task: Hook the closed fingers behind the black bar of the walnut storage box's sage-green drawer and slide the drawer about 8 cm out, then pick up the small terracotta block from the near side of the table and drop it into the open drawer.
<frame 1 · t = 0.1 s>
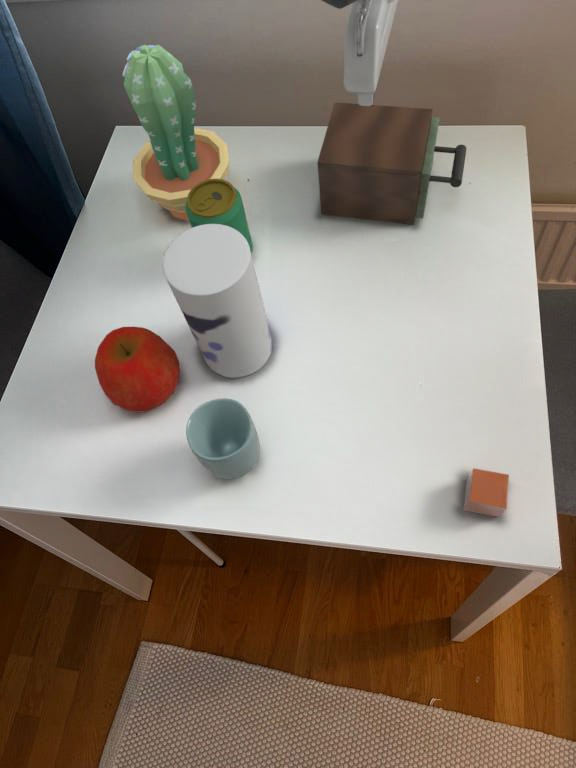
hand: (372, 76, 73), 21 cm above the table, tool pointing down, fingers open, 8 cm apart
potted cactus: (193, 200, 96), on the table
cabinet: (373, 189, 93), on the table
drawer: (401, 166, 87), point 5 cm above the table, slide at 0.0 cm
cup: (234, 457, 75), on the table
block: (482, 497, 69), on the table
beverage can: (228, 254, 90), on the table
container: (238, 347, 82), on the table
apple: (148, 384, 81), on the table
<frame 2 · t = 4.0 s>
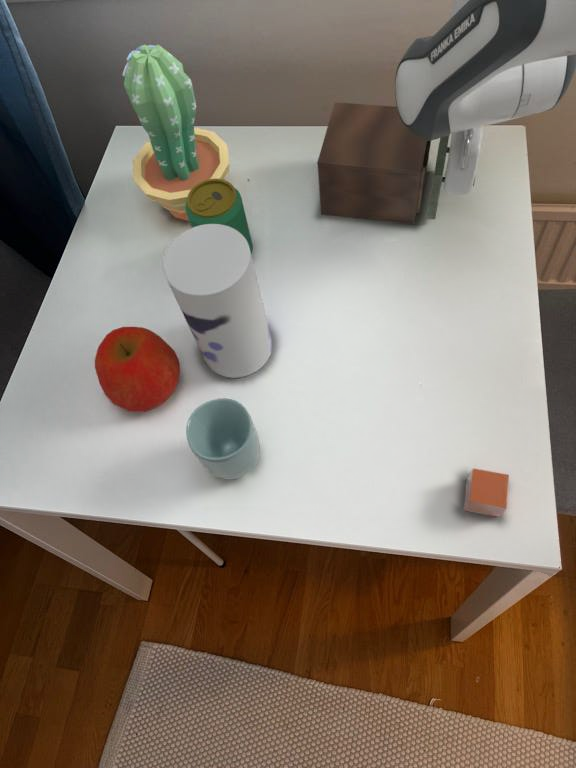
hand: (458, 170, 86), 6 cm above the table, tool pointing down, fingers closed, pressing on drawer
drawer: (413, 167, 87), point 5 cm above the table, slide at 1.8 cm, touching gripper
everything else where it was.
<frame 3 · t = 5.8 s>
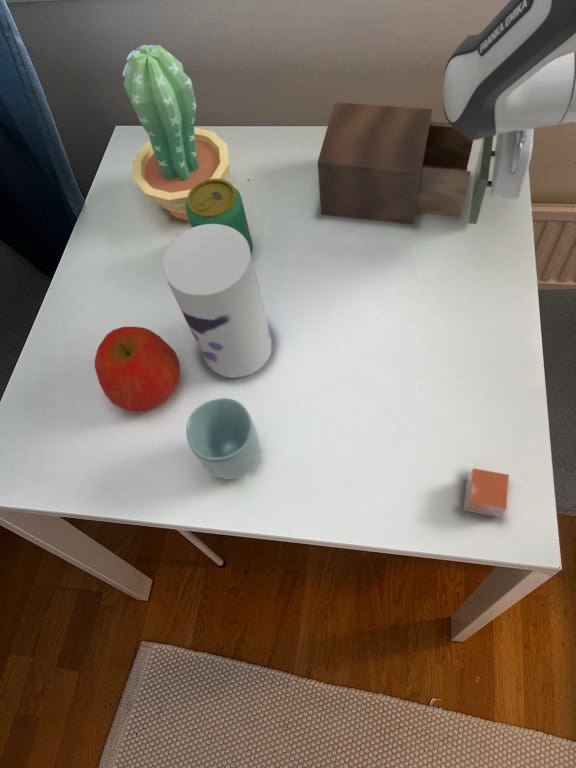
hand: (500, 174, 84), 6 cm above the table, tool pointing down, fingers closed, pressing on drawer
drawer: (454, 171, 86), point 5 cm above the table, slide at 7.9 cm, touching gripper
everything else where it was.
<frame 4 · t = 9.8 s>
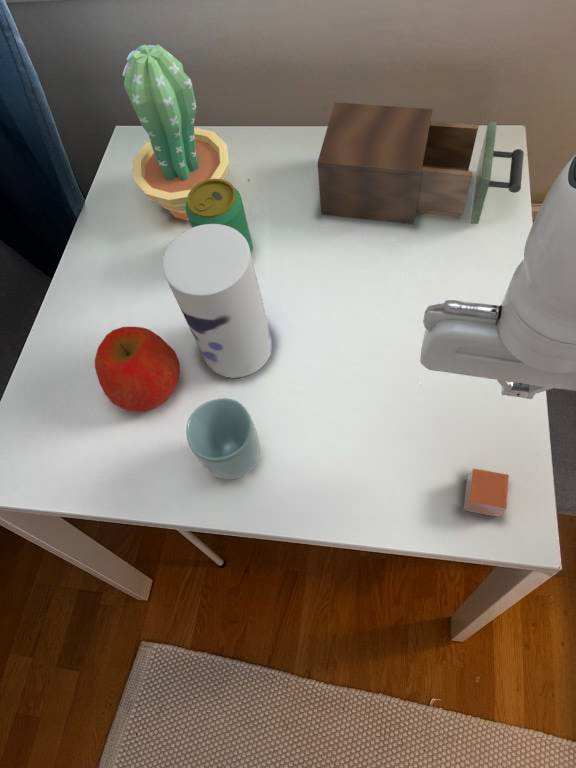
hand: (516, 390, 59), 15 cm above the table, tool pointing down, fingers closed
drawer: (456, 171, 86), point 5 cm above the table, slide at 8.1 cm
everything else where it was.
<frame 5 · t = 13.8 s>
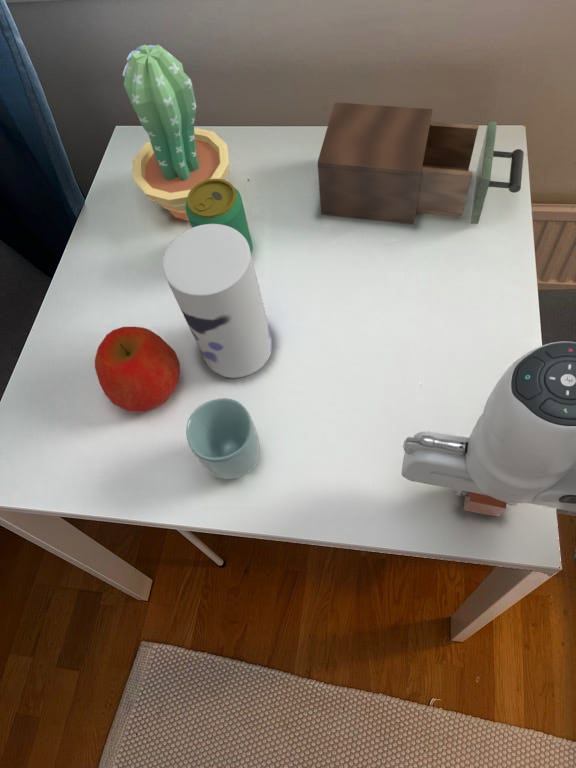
hand: (485, 493, 68), 2 cm above the table, tool pointing down, fingers closed on block, 4 cm apart
block: (482, 497, 69), on the table, touching gripper
everything else where it was.
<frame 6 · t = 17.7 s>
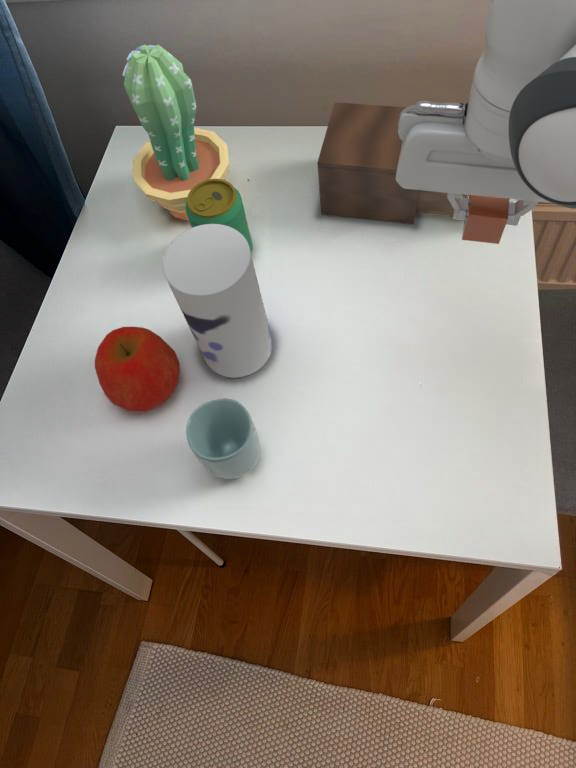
hand: (485, 218, 63), 20 cm above the table, tool pointing down, fingers closed on block, 4 cm apart
block: (481, 228, 65), point 18 cm above the table, touching gripper
everything else where it was.
when the fingers open (11 cm above the table, at t = 22.1 s): block drops 7 cm, resting on drawer.
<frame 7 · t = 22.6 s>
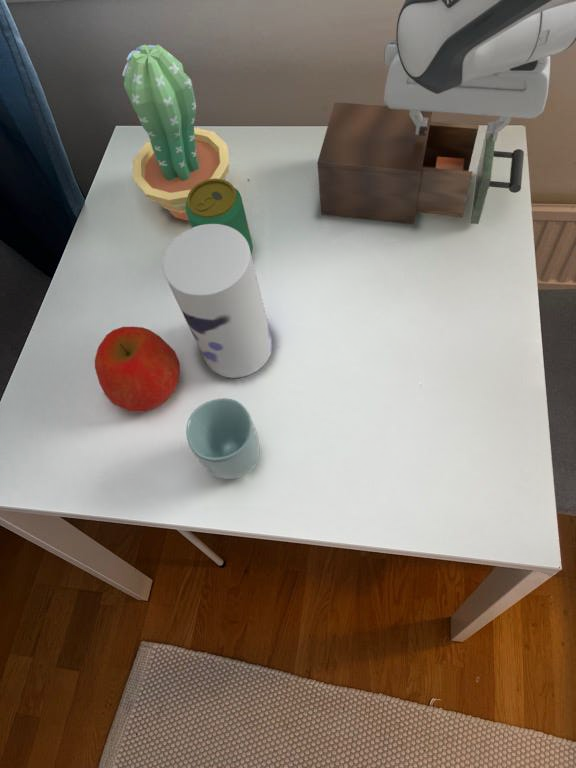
hand: (455, 135, 80), 12 cm above the table, tool pointing down, fingers open, 8 cm apart
drawer: (456, 171, 86), point 5 cm above the table, slide at 8.2 cm, touching block
block: (445, 187, 89), point 2 cm above the table, touching drawer
everything else where it was.
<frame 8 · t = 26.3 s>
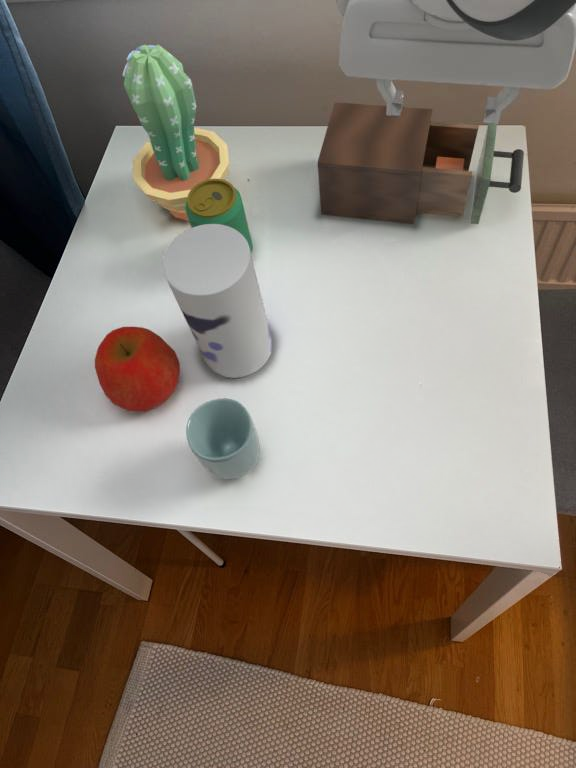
hand: (441, 115, 58), 29 cm above the table, tool pointing down, fingers open, 8 cm apart
nothing on the table moved.
at the end: drawer slide at 8.2 cm; block inside the target area in the drawer (0.5 cm from its centre), point 2.0 cm above the cabinet's base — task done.
